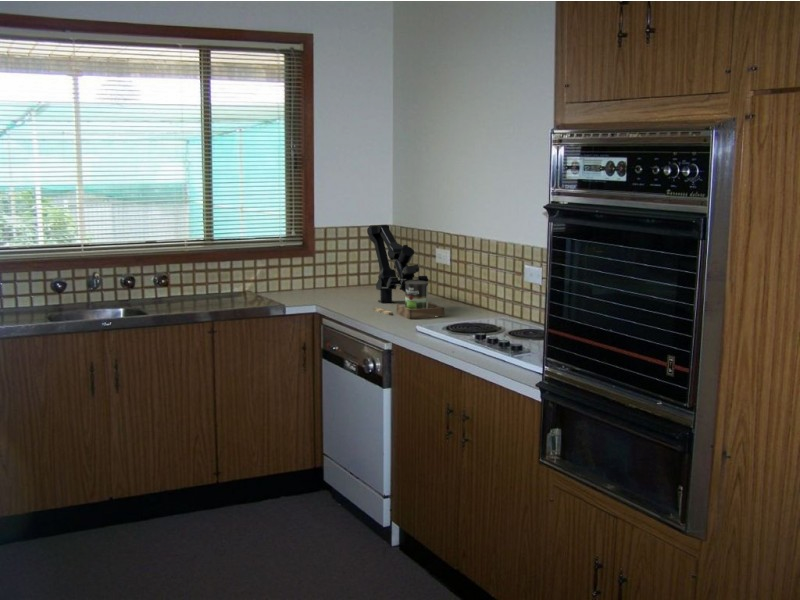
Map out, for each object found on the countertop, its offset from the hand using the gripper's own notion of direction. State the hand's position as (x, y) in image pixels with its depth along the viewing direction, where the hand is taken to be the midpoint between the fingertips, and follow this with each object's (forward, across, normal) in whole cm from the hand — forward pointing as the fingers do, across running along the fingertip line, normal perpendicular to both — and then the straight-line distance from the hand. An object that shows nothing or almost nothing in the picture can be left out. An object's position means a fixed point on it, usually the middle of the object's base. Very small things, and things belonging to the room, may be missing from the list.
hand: (412, 297), depth 413 cm
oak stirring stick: (+3, -13, +8) cm, 15 cm away
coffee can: (+8, 0, +2) cm, 8 cm away
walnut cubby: (+11, 0, -1) cm, 11 cm away
